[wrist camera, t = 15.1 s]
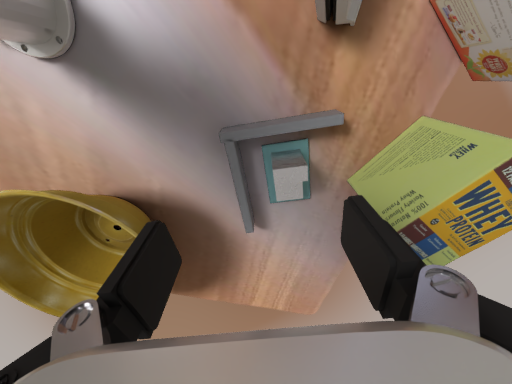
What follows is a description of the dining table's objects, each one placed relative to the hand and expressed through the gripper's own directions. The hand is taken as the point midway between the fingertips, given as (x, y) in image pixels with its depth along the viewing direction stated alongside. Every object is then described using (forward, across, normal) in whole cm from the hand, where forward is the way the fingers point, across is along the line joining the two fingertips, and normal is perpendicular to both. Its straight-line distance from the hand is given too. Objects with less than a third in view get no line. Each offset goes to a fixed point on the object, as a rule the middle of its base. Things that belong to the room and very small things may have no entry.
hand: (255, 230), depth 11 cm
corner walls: (+26, -5, +10) cm, 29 cm away
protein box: (+26, -25, +12) cm, 38 cm away
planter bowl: (+28, +33, +18) cm, 47 cm away
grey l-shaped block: (+26, -5, +10) cm, 28 cm away
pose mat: (+26, -5, +10) cm, 29 cm away
